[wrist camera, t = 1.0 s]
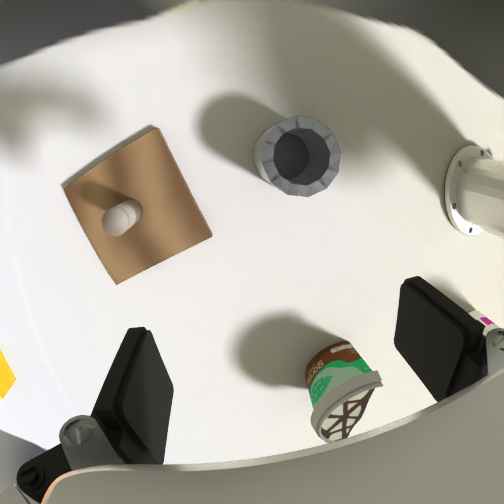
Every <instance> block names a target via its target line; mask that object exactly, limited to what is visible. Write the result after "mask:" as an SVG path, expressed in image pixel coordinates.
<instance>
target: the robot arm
mask: <svg viewBox="0 0 504 504" xmlns="http://www.w3.org/2000/svg"><path fill="white" fill-rule="evenodd" d="M445 203H446V209H447V213H448V216H449V218H450V221H451V223H452V224H453V226H454V227H455V228H456V229H457V230H458V231H459V232H461V233H463V234H465V235H469V236H474V235H477V234H480V233H481V232H483V231H484V230H485V231H487V232H489V233H492V234H494V235H496V236H499V237H501V238H503V239H504V161H499V160H493V159H492V157H491V155H490V154H489V153H488V152H487V151H486V150H485V149H483V148H481V147H479V146H466V147H464V148H462V149H461V150H459V151H458V152H457V153H456V155H455V156H454V157H453V159H452V161H451V163H450V166H449V169H448V172H447V176H446V181H445ZM484 328H485V327H484V326H483V325H482V324H481V323H479V322H478V321H477V320H476V319H474V318H473V317H472V316H471V315H470V314H468V313H467V312H466V311H465V310H463V309H462V308H461V307H459V306H458V305H457V304H456V303H454V302H453V301H452V300H450V299H449V298H448V297H447V296H445V295H444V294H443V293H441V292H440V291H439V290H437V289H436V288H435V287H433V286H432V285H431V284H429V283H428V282H427V281H425V280H424V279H422V278H421V277H419V276H416V277H412V278H408V279H406V280H405V281H404V283H403V284H402V285H401V288H400V298H399V307H398V315H397V323H396V330H395V337H394V344H395V347H396V349H397V350H398V351H399V353H400V354H401V355H402V356H403V358H404V359H405V360H406V362H407V363H408V364H409V365H410V367H411V368H412V369H413V371H414V372H415V373H416V375H417V376H418V377H419V378H420V380H421V381H422V382H423V384H424V385H425V386H426V388H427V389H428V390H429V392H430V393H431V394H432V396H433V397H434V398H435V400H436V401H437V402H438V403H436V404H434V405H432V406H429V407H427V408H425V409H423V410H421V411H419V412H416V413H414V414H412V415H409V416H407V417H405V418H402V419H400V420H397V421H395V422H392V423H390V424H387V425H384V426H382V427H379V428H376V429H373V430H370V431H368V432H365V433H362V434H359V435H355V436H352V437H349V438H346V439H342V440H339V441H335V442H332V443H328V444H324V445H320V446H316V447H312V448H308V449H303V450H299V451H294V452H289V453H284V454H279V455H273V456H267V457H260V458H254V459H246V460H237V461H228V462H216V463H200V464H171V465H162V464H163V462H164V455H165V447H166V440H167V432H168V425H169V418H170V412H171V405H172V399H173V392H174V390H173V384H172V382H171V379H170V377H169V375H168V372H167V370H166V368H165V365H164V363H163V360H162V358H161V356H160V353H159V351H158V348H157V345H156V343H155V340H154V338H153V335H152V333H151V331H150V330H146V328H145V327H137V328H129V329H128V331H127V333H126V335H125V337H124V339H123V341H122V343H121V346H120V348H119V350H118V352H117V354H116V356H115V359H114V361H113V363H112V365H111V368H110V370H109V372H108V374H107V377H106V379H105V381H104V384H103V386H102V389H101V391H100V393H99V396H98V398H97V401H96V403H95V406H94V408H93V411H92V413H91V416H87V415H78V416H75V417H73V418H71V419H69V420H68V421H67V422H66V423H65V424H64V425H63V426H62V428H61V430H60V434H59V438H60V442H61V443H60V444H59V445H57V446H55V447H53V448H51V449H50V450H48V451H46V452H44V453H43V454H41V455H39V456H37V457H35V458H33V459H31V460H30V461H28V462H26V463H25V464H23V465H22V466H21V467H20V469H19V471H18V473H17V485H14V484H13V483H12V484H11V485H10V486H9V487H8V488H7V489H6V490H5V491H4V492H3V493H2V494H1V495H0V504H504V329H502V328H495V329H492V330H490V331H489V332H488V333H487V334H486V336H484V335H483V331H484Z"/></svg>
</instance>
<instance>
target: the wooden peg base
mask: <svg viewBox="0 0 504 504" xmlns="http://www.w3.org/2000/svg"><path fill="white" fill-rule="evenodd" d="M64 191H65V194H66V196H67V198H68V200H69V202H70V204H71V206H72V208H73V210H74V212H75V214H76V216H77V218H78V220H79V222H80V224H81V225H82V227H83V229H84V231H85V233H86V235H87V237H88V238H89V240H90V242H91V244H92V246H93V247H94V249H95V251H96V253H97V254H98V256H99V258H100V259H101V261H102V263H103V264H104V266H105V268H106V269H107V271H108V273H109V274H110V276H111V277H112V279H113V281H114V282H115V284H116V285H117V284H119V283H121V282H123V281H125V280H127V279H129V278H131V277H133V276H135V275H137V274H139V273H141V272H142V271H144V270H146V269H148V268H150V267H152V266H154V265H156V264H158V263H160V262H162V261H164V260H166V259H168V258H170V257H172V256H174V255H176V254H178V253H180V252H182V251H184V250H186V249H188V248H190V247H192V246H194V245H196V244H198V243H200V242H202V241H204V240H207V239H209V238H211V237H212V232H211V230H210V228H209V227H208V225H207V223H206V221H205V219H204V217H203V215H202V213H201V211H200V209H199V207H198V205H197V203H196V201H195V199H194V197H193V195H192V193H191V191H190V189H189V187H188V185H187V183H186V181H185V179H184V178H183V176H182V174H181V172H180V170H179V168H178V165H177V163H176V161H175V159H174V157H173V155H172V153H171V151H170V149H169V147H168V145H167V143H166V141H165V139H164V137H163V135H162V133H161V131H160V129H159V128H156V129H154V130H152V131H150V132H149V133H147V134H145V135H143V136H142V137H140V138H138V139H137V140H135V141H133V142H132V143H130V144H128V145H127V146H125V147H123V148H122V149H120V150H119V151H117V152H116V153H114V154H112V155H111V156H109V157H108V158H106V159H105V160H103V161H102V162H100V163H99V164H97V165H96V166H95V167H93V168H92V169H90V170H89V171H87V172H86V173H85V174H83V175H82V176H80V177H79V178H78V179H76V180H75V181H74V182H72V183H71V184H70V185H68V186H67V187H66V188H64Z"/></svg>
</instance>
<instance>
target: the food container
mask: <svg viewBox="0 0 504 504" xmlns="http://www.w3.org/2000/svg"><path fill="white" fill-rule="evenodd" d="M305 377H306V381H307V385H308V389H309V393H310V398H311V402H312V406H313V410H314V411H313V413H312V416H311V424H312V427H313V428H314V430H315V432H316V433H317V435H318V436H319V437H320V438H321V439H322V440H324V441H325V442H326V443H332V442H335V441H339V440H342V439H346V438H347V437H348V436H349V433H350V431H351V430H352V428H353V427H354V426H355V424H356V423H357V422H358V421H359V420H360V418H361V417H362V415H363V413H364V411H365V408H366V406H367V403H368V401H369V399H370V397H371V395H372V393H373V391H374V389H375V388H376V387H381V386H383V384H382V383H381V377H380V375H379V373H378V370H377V371H372V370H371V369H370V367H369V366H368V365H367V364H366V362H365V361H364V360H363V359H362V357H361V356H360V355H359V354H358V352H357V351H356V350H355V349H354V347H353V346H352V345H351V344H350V342H349V341H348V342H340V343H337V344H334V345H331V346H329V347H327V348H325V349H324V350H322V351H320V352H319V353H318V354H317V355H316V356H315V357H314V358H312V360H311V361H310V363H309V364H308V366H307V368H306V372H305Z"/></svg>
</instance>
